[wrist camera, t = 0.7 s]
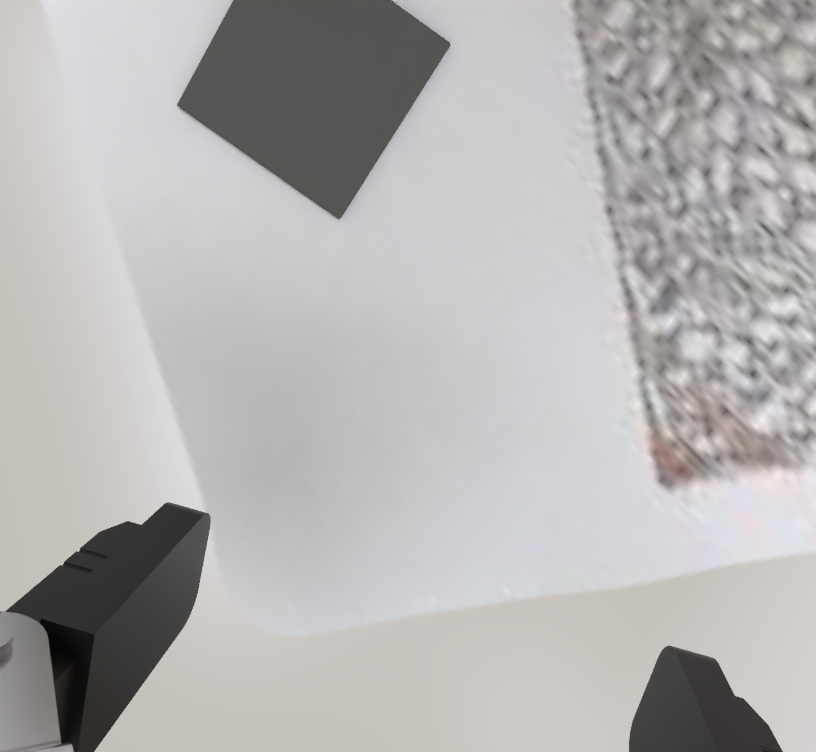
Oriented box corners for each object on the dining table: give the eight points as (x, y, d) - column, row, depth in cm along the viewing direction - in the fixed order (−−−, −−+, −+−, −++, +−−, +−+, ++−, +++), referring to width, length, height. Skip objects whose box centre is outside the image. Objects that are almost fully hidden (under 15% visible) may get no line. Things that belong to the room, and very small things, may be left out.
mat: (280, -79, 33) (277, -82, 33) (450, 44, 34) (450, 42, 33) (180, 106, 36) (176, 105, 35) (340, 218, 36) (338, 218, 36)
